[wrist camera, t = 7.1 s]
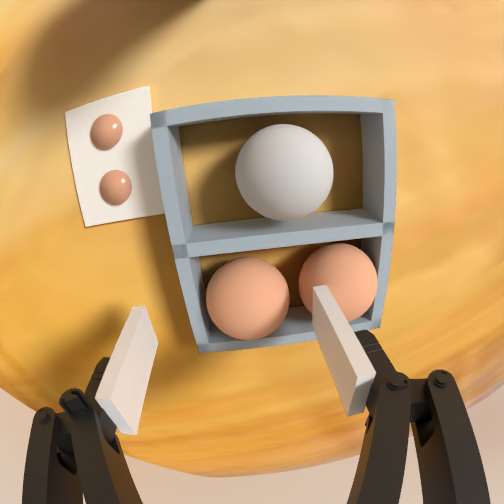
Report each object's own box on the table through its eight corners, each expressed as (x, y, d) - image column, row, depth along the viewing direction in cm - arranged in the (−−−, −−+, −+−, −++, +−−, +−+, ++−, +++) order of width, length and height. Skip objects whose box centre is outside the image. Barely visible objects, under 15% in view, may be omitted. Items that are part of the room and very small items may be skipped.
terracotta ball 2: (288, 305, 20) (319, 350, 15) (284, 240, 18) (323, 276, 13) (347, 287, 21) (386, 323, 17) (350, 225, 19) (398, 254, 14)
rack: (202, 325, 21) (199, 352, 18) (164, 116, 15) (149, 113, 12) (364, 304, 21) (379, 327, 18) (370, 102, 15) (394, 99, 12)
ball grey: (240, 210, 17) (241, 240, 13) (230, 129, 15) (229, 127, 11) (319, 202, 17) (348, 229, 13) (315, 123, 15) (346, 121, 11)
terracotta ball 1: (213, 313, 20) (214, 362, 16) (200, 249, 18) (196, 290, 14) (281, 303, 21) (298, 349, 16) (278, 239, 19) (298, 275, 14)
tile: (87, 225, 17) (84, 227, 17) (67, 112, 14) (63, 112, 13) (167, 212, 17) (165, 214, 17) (149, 86, 14) (147, 85, 13)
